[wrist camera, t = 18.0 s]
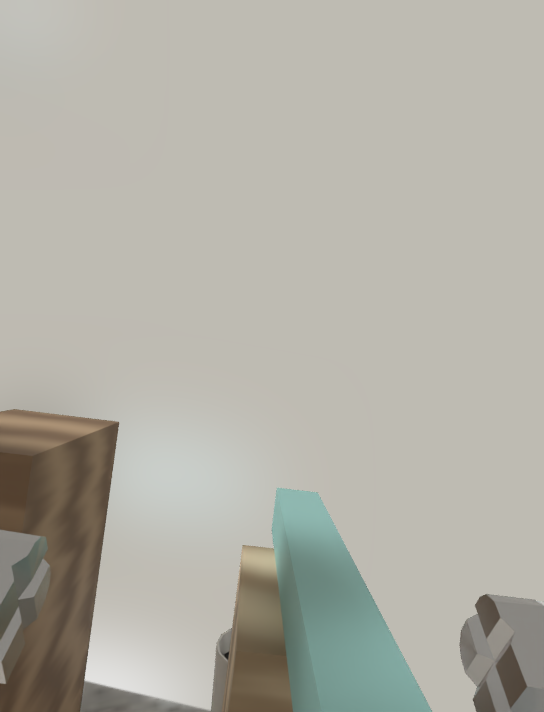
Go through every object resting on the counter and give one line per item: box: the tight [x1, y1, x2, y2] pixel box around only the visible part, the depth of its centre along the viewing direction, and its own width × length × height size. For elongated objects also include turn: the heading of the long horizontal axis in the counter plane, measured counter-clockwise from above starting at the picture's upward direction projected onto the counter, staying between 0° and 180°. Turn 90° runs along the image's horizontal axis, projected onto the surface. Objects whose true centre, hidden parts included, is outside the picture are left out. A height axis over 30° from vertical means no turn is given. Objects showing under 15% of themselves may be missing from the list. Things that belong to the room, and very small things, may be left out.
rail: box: [272, 488, 432, 712], centre depth 23 cm, size 26×3×3 cm, turn 2°
